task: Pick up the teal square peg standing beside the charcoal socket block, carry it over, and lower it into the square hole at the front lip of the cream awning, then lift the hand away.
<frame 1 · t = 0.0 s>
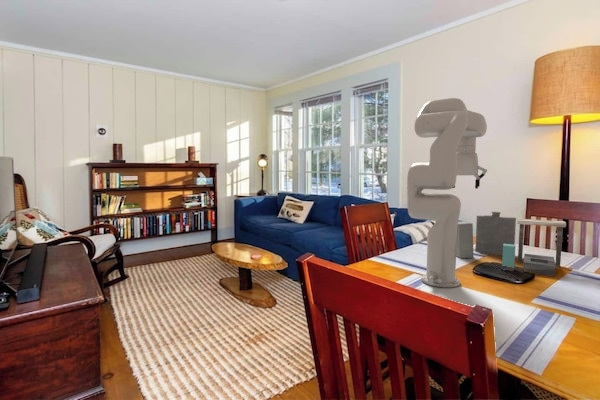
hand: (464, 188, 155), 31 cm above the table, tool pointing down, fingers open, 9 cm apart
socket stand: (538, 270, 133), on the table
hip flask: (494, 254, 160), on the table
skincare box: (461, 256, 156), on the table
peg: (508, 269, 135), on the table
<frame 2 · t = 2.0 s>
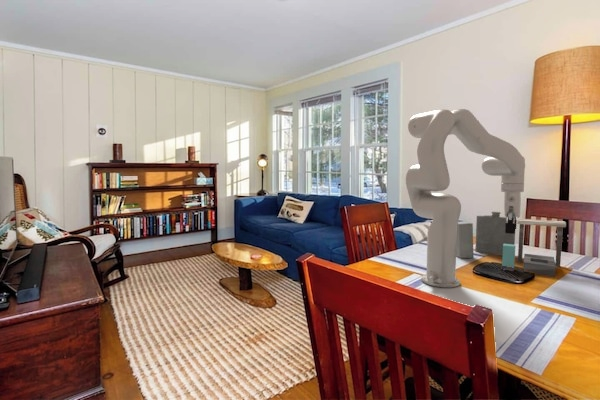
hand: (510, 231, 133), 15 cm above the table, tool pointing down, fingers open, 9 cm apart
nothing on the table moved.
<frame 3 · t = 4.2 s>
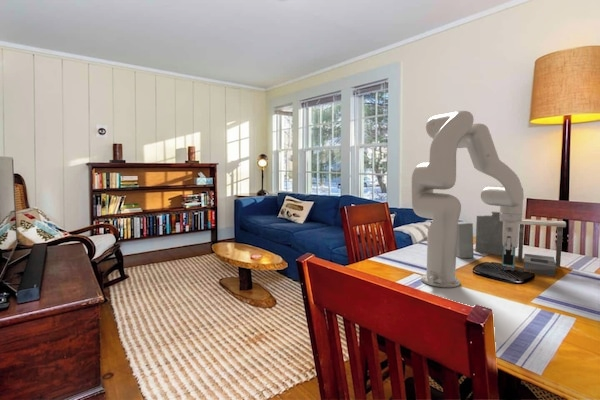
hand: (508, 262, 134), 3 cm above the table, tool pointing down, fingers closed on peg, 4 cm apart
peg: (508, 269, 135), on the table, touching gripper
everything else where it was.
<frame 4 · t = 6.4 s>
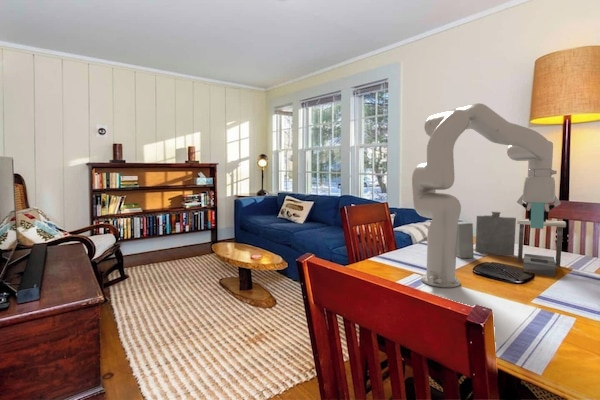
hand: (537, 220, 132), 20 cm above the table, tool pointing down, fingers closed on peg, 4 cm apart
peg: (537, 227, 132), point 17 cm above the table, touching gripper
everything else where it was.
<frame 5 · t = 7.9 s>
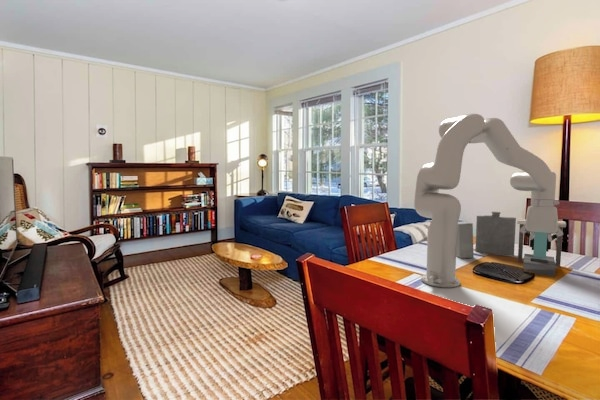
hand: (539, 249, 132), 8 cm above the table, tool pointing down, fingers closed on peg, 4 cm apart
peg: (539, 256, 133), point 6 cm above the table, touching gripper
everything else where it was.
when the fingers open (5 cm above the table, at t = 9.0 s): peg drops 2 cm, resting in socket stand.
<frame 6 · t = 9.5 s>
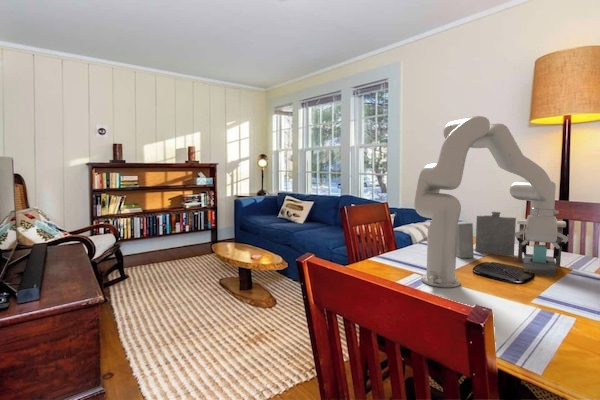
hand: (539, 256, 133), 6 cm above the table, tool pointing down, fingers open, 9 cm apart
peg: (538, 270, 133), resting in socket stand
everything else where it was.
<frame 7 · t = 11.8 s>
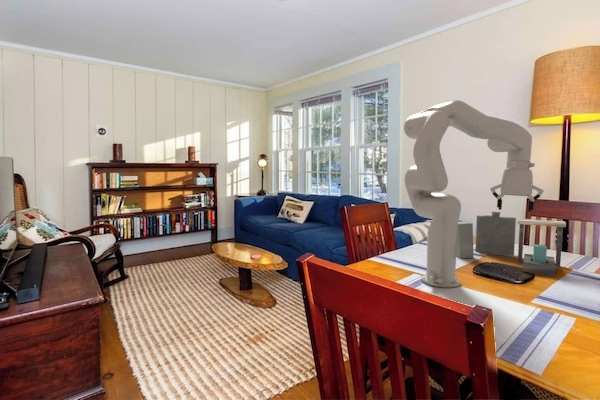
hand: (514, 210, 131), 24 cm above the table, tool pointing down, fingers open, 9 cm apart
nothing on the table moved.
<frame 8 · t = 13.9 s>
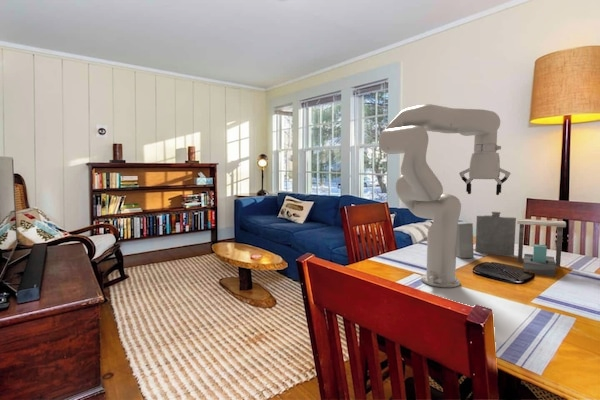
hand: (483, 194, 130), 30 cm above the table, tool pointing down, fingers open, 9 cm apart
nothing on the table moved.
at the end: peg 0.1 cm off-centre on the socket stand, point 0.0 cm above the socket stand's base; peg tilted 0°; the gripper is holding nothing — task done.
